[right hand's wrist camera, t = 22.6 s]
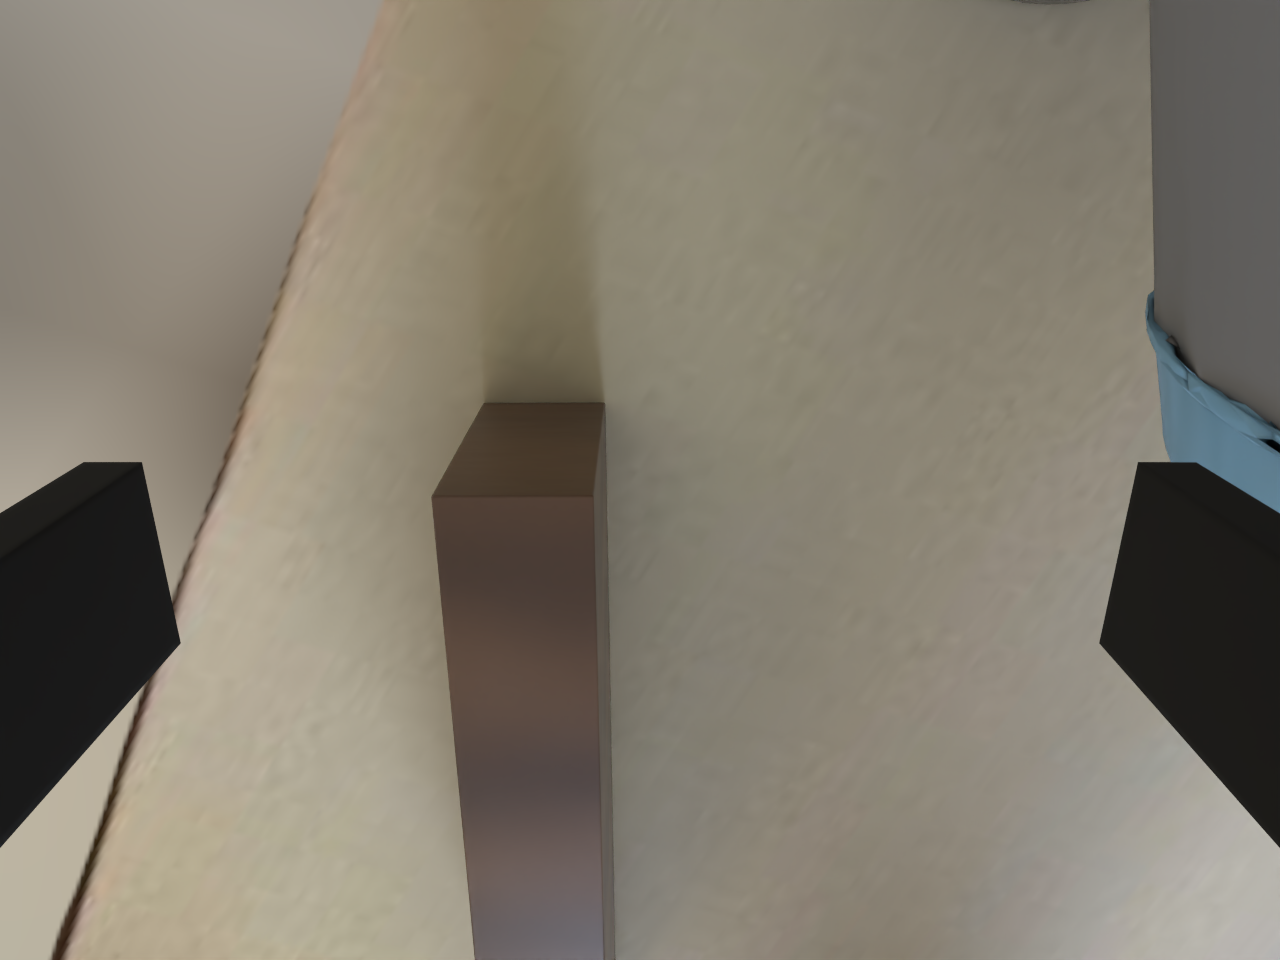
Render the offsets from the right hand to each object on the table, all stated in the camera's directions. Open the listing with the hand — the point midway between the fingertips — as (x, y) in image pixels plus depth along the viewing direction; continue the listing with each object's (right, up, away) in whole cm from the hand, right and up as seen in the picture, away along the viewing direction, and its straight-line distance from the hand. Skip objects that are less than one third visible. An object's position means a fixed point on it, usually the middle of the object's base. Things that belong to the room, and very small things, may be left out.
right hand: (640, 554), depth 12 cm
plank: (-4, -12, +31) cm, 33 cm away
